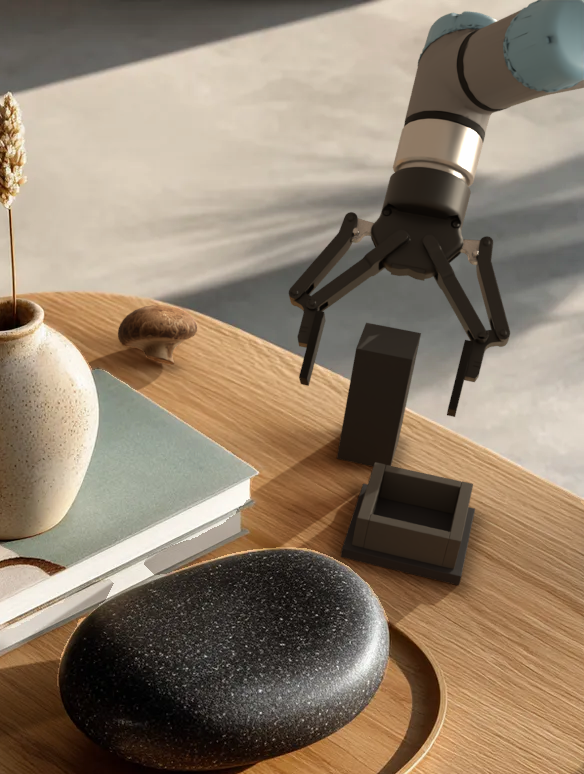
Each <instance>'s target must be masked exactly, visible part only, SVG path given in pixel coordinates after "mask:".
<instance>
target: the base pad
mask: <svg viewBox="0 0 584 774" xmlns="http://www.w3.org/2000/svg"><path fill="white" fill-rule="evenodd" d="M473 489H474V483H472V482H467V481H461V480H457V479H453V478H448V477H443V476H439V475H434V474H430V473H425V472H420V471H416V470H412V469H407V468H402V467H398V466H395V465H394V466H393V465H391V466H389V465H385V464H381V463H376V462H375V463H374V466H373V467H372V470H371V472H370V475H369V479H368V482H367V483H362V485H361V488H360V491H359V495H358V498H357V501H356V503H355V504H356V505H355V507H354V510H353V513H352V516H351V519H350V522H349V526H348V529H347V532H346V535H345V537H344V541H343V544H342V547H341V552H340V558H343V559H347V560H350V561H355V562H359V563H364V564H367V565H371V566H372V565H373V566H375V567H376V566H377V567H380V568H384V569H388V570H393V571H397V572H401V573H404V574H409V575H414V576H418V577H422V578H427V579H430V580H435V581H439V582H443V583H446V584H451V585H455V586H459V585H460V583H461V580H462V575H463V571H464V566H465V560H466V555H467V551H468V547H469V543H470V536H471V532H472V527H473V521H474V518H475V514H476V513H475V512H476V508H474V507H471V506H470V501H471V497H472V492H473Z"/></svg>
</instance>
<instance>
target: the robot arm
mask: <svg viewBox="0 0 584 774" xmlns="http://www.w3.org/2000/svg"><path fill="white" fill-rule="evenodd" d="M579 89H584V0H536V1H532V2H531V3H529V4H528V5H527V6H525V7H523V8H521V9H520V10H518V11H516V12H513V13H511V14H509V15H507V16H505V17H503V18H501V19H499V20H497V19H496V18H494V17H492V16H490V15H487V14H485V13H481V12H477V11H469V10H467V11H466V10H465V11H462V12H461V13H456V12H451V13H446V14H444V15H442V16H440V17H439V18H437V19H436V20H435V21H434V22H433V24H432V25H431V26H430V28H429V31H428V33H427V36H426V39H425V43H424V47H423V48H422V51H421V53H420V54H419V58H418V60H417V69H416V72H415V77H414V81H413V85H412V89H411V93H410V98H409V102H408V106H407V110H406V114H405V118H404V124H403V127H402V129H401V133H400V137H399V140H398V144H397V149H396V153H395V157H394V161H393V165H392V169H393V170H392V171H393V173H392V174H391V175H390V177H389V180H388V184H387V188H386V192H385V196H384V200H383V204H382V208H381V212H380V214H379V216H378V218H377V220H375V221H374V222H373V221H372V222H371V221H370V220H369V221H368V220H365V219H362V218H358V215H357V213H355V212H354V211H353V212H352V211H350V212H347V213H346V214H345V215H344V217H343V220H342V223H341V225H340V227H339V230H338V232H337V234H336V235H335V236H334V237H333V238H332V240H331V241H330V242H329V243H328V244H327V246H325V247H324V249H323V250H322V251H321V252H320V254H318V256H317V257H316V258H315V259H314V260H313V262H311V264H310V265H309V266H308V267H307V268H306V269H305V271H304V272H303V273H302V274H301V275H300V276H299V278H298V279H297V280H296V281H295V282H294V283H293V284H292V286H291V287H290V288H289V290H288V297H289V302H290V304H291V305H292V306H294V307H297V308H299V309H300V310H302V311H303V313H302V317H301V322H300V326H299V328H298V333H297V343H298V346H299V347H301V348H305V352H304V357H303V360H302V364H301V367H300V371H299V375H298V379H299V383H300V385H303V386H307V387H308V386H310V382H311V378H312V375H313V371H314V367H315V363H316V360H317V356H318V351H319V347H320V344H321V340H322V335H323V332H324V328H325V324H326V314H325V311H326V310H327V309H328V308H330V307H331V306H333V305H334V304H335V303H337V302H338V301H340V300H341V299H342V298H344V297H345V296H346V295H347V294H349V293H351V292H352V291H353V290H354V289H356V288H358V287H359V286H360V285H361V284H363V283H364V282H365V281H367V280H368V279H370V278H371V277H375V276H376V275H378V274H379V273H381V272H382V271H383V270H386V271H387V272H389V273H390V275H392V276H395V277H396V276H397V277H405V276H406V277H407V276H408V277H409V278H413V279H415V280H417V281H418V280H419V281H425V280H427V279H431V278H433V279H434V281H435V282H436V284H437V286H438V288H439V289H440V290H441V291H442V293H443V295H444V296H445V298H446V300H447V302H448V303H449V305H450V307H451V309H452V310H453V312H454V314H455V316H456V318H457V319H458V321H459V323H460V325H461V327H462V329H463V330H464V332H465V333H466V336H467V337H468V339H469V340H468V339H464V342H463V346H462V350H461V354H460V358H459V362H458V367H457V371H456V375H455V379H454V381H453V382H454V383H453V386H452V389H451V390H452V391H451V395H450V399H449V403H448V407H447V412H446V416H447V417H448V416H449V417H453V418H456V414H457V411H458V407H459V402H460V400H461V399H460V398H461V395H462V390H463V386H464V382H471V383H476V382H477V380H478V379H479V376H480V372H481V368H482V364H483V360H484V357H485V352H486V351H487V350H488V349H489V348H493V347H499V348H503V347H505V346H507V345H508V342H509V340H510V336H511V330H510V326H509V321H508V319H507V315H506V311H505V307H504V303H503V300H502V296H501V292H500V288H499V285H498V280H497V277H496V273H495V269H494V265H493V262H492V259H493V258H492V256H493V248H494V239H493V238H492V237H491V236H488V235H485V236H483V237H481V238H480V240H479V239H469V238H468V239H466V238H464V237H463V235H462V234H463V233H462V231H463V226H464V221H465V218H466V214H467V210H468V206H469V202H470V197H471V193H472V192H471V188H470V187H471V186H472V185H473V184H474V181H475V177H476V173H477V169H478V165H479V162H480V157H481V154H482V151H483V150H482V149H483V145H484V141H485V138H486V132H487V128H488V125H489V121H490V118H491V115H492V114H494V113H497V112H501V111H503V110H506V109H509V108H511V107H514V106H516V105H517V106H518V105H520V104H523V103H526V102H529V101H532V100H535V99H539V98H542V97H545V96H550V95H554V94H559V93H565V92H569V91H570V92H571V91H574V90H575V91H576V90H579ZM367 236H369V237H370V239H371V242H372V244H373V245H374V247H373V249H371V250H370V251H369V252H367V253H366V254H365V255H364V256H363V258H361V259H360V260H358V261H357V262H356V263H354V264H353V265H352V266H350V267H349V268H347V269H346V270H345V271H343V272H342V273H340V274H339V275H337V277H335V278H334V279H332V280H331V281H330V282H328V283H327V284H326V285H324V286H323V287H321V288H320V289H318V290H317V291H316V292H314V290H316V288H317V287H318V286H319V285H320V283H321V282H323V280H325V278H326V277H327V276H328V275H329V274H330V272H331V271H332V270H333V269H334V267H335V266H336V265H337V264H338V263H339V262H340V261H341V259H343V257H345V255H346V254H347V252H348V251H349V250H350V248H351V247H352V244H357V243H360V242H361V241H362V240H363V239H364V237H367ZM461 253H462V254H464V255H466V257H467V259H468V263H469V264H471V265H473V266H476V267H475V272H476V278H477V281H478V285H479V289H480V293H481V296H482V300H483V305H484V308H485V312H486V316H487V320H488V322H489V323H488V324H489V327H490V329H486V328H485V325H484V324H483V322H482V321H481V319H480V317H479V315H478V314H477V311H476V310H475V308H474V307H473V304H472V303H471V301H470V299H469V297H468V296H467V294H466V292H465V290H464V289H463V287H462V285H461V283H460V282H459V280H458V278H457V276H456V274H455V271H454V268H453V267H452V265H451V263H452V262H453V261H454V260H455V259H457V257H459V256H460V255H461ZM313 292H314V293H313ZM312 293H313V294H312ZM311 294H312V295H311Z"/></svg>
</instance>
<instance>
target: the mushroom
mask: <svg viewBox="0 0 584 774" xmlns="http://www.w3.org/2000/svg"><path fill="white" fill-rule="evenodd" d="M197 325H198V324H197V322H196V320H195V319H194V317H193V316H192V315H191V314H190V313H189V312H187V311H185V310H184V309H180V308H179V307H176V306H169V305H162V304H161V305H145V306H142V307H139V308H137V309H134V310H133V311H131V312H130V313H128V314H127V315H126V316H125V317H124V318H123V319H122V320H121V322H120V324H119V326H118V328H117V329H118V330H117V338H118V341H119V343H120V344H121V345H122V346H126V347H128V348H135V349H138V350H140V351H142V352H143V354H144V356H145V357H146V358H148V359H149V360H153V361H156V362H160V363H162V364H167V365H175V361H174V357H173V355H174V354H173V353H174V350H175V349H176V348H177V347H178V346H179V345H180V344H181V343H183V342H185V341H187V340H189V339H191V338H193V337H195V335H196V334H197V331H198V326H197Z"/></svg>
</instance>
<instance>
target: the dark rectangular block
mask: <svg viewBox="0 0 584 774" xmlns="http://www.w3.org/2000/svg"><path fill="white" fill-rule="evenodd" d="M421 336H422V333H421V332H417V331H411V330H406V329H402V328H396V327H391V326H386V325H381V324H375V323H371V322H365V324H364V327H363V330H362V332H361V335H360V337H359V340H358V342H357V345H356V348H355V352H354V358H353V364H352V370H351V376H350V381H349V386H348V391H347V399H346V403H345V409H344V414H343V420H342V426H341V431H340V438H339V443H338V449H337V455H336V459H337V460H340V461H346V462H350V463H355V464H360V465H364V466H367V467H368V466H369V467H372V468H373V466H374V463H375V462H376V463H381V464H385V465H389V466H393V461H394V458H395V455H396V451H397V448H398V445H399V441H400V436H401V432H402V426H403V421H404V417H405V412H406V408H407V402H408V398H409V394H410V389H411V385H412V384H411V383H412V378H413V375H414V369H415V365H416V361H417V355H418V350H419V345H420V340H421Z"/></svg>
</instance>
